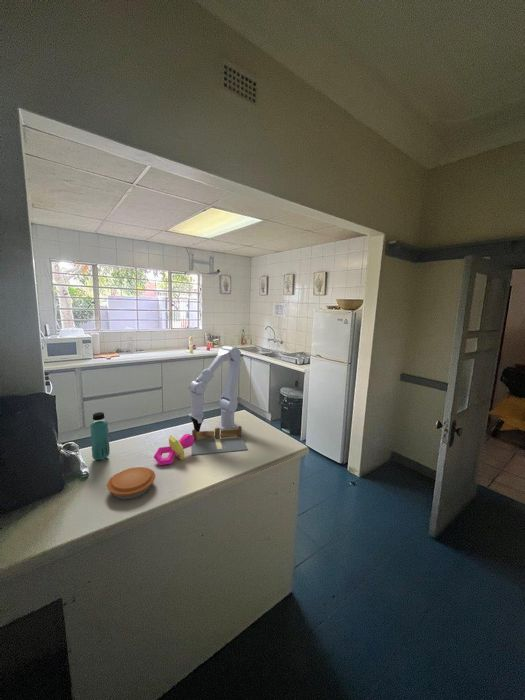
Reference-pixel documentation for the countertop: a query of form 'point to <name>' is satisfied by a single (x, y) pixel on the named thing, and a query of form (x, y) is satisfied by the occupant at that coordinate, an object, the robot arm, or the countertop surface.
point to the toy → (174, 449)
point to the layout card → (218, 445)
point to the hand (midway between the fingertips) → (197, 431)
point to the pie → (131, 482)
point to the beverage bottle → (99, 437)
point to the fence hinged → (202, 434)
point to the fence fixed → (227, 432)
